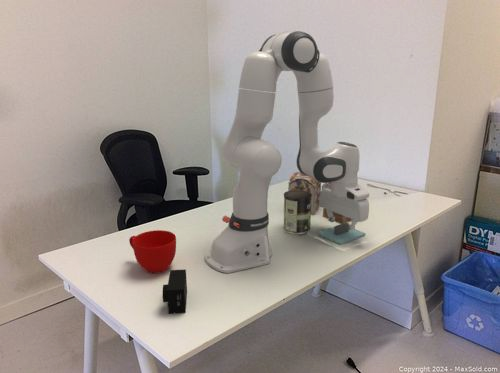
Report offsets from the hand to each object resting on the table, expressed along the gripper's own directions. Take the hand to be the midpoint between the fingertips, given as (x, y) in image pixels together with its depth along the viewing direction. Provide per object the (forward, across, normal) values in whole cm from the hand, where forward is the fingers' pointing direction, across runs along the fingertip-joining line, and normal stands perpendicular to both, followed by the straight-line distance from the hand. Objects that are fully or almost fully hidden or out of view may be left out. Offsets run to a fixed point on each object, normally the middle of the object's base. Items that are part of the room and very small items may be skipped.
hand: (341, 225), depth 145 cm
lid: (+5, 0, +1) cm, 5 cm away
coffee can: (+5, -15, -8) cm, 18 cm away
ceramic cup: (+6, -20, -64) cm, 67 cm away
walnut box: (+4, -12, +14) cm, 19 cm away
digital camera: (+6, +3, -66) cm, 66 cm away
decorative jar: (+5, -28, +8) cm, 30 cm away
